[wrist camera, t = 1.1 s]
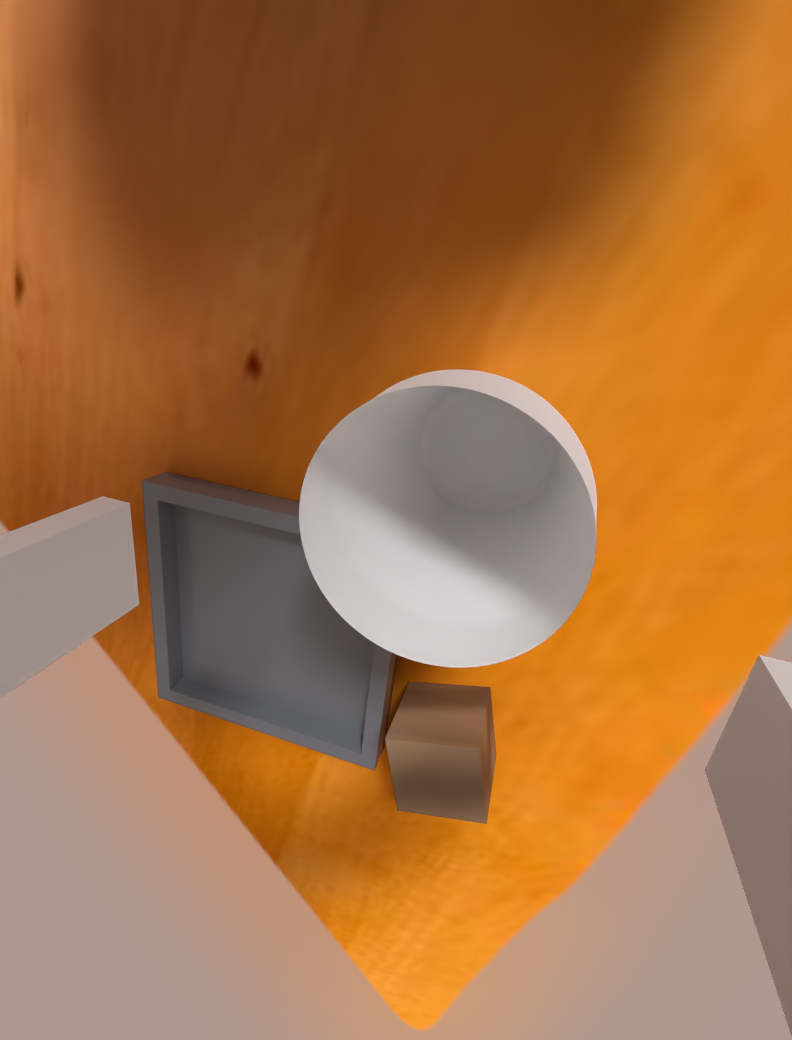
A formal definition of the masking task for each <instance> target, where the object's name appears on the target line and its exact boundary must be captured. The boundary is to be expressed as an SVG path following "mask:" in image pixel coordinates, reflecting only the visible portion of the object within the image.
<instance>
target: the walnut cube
mask: <svg viewBox="0 0 792 1040" xmlns="http://www.w3.org/2000/svg"><path fill="white" fill-rule="evenodd" d="M385 742H386V747H387V753H388V759H389V765H390V770H391V776H392V782H393V788H394V793H395V799H396V805H397V810H398V811H405V812H411V813H418V814H425V815H431V816H438V817H445V818H451V819H458V820H465V821H472V822H478V823H485V824H487V817H488V810H489V803H490V796H491V789H492V782H493V775H494V768H495V761H496V746H495V735H494V724H493V713H492V702H491V691H490V687H480V686H465V685H451V684H436V683H422V682H409V683H408V685H407V687H406V690H405V692H404V695H403V697H402V699H401V702H400V704H399V707H398V709H397V711H396V714H395V716H394V719H393V721H392V723H391V726H390V728H389V731H388V733H387V735H386V738H385Z"/></svg>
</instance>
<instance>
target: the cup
mask: <svg viewBox="0 0 792 1040" xmlns="http://www.w3.org/2000/svg"><path fill="white" fill-rule="evenodd" d="M596 515H597V495H596V486H595V480H594V475H593V472H592V468H591V465H590V462H589V459H588V457H587V455H586V452H585V450H584V448H583V446H582V444H581V442H580V441H579V439H578V437H577V435H576V434H575V432H574V431H573V429H572V428H571V427H570V425H569V424H568V422H567V421H566V420H565V419H564V418H563V417H562V415H561V414H560V413H559V412H558V411H557V410H556V409H555V408H554V407H553V406H552V405H551V404H549V403H548V402H547V401H546V400H545V399H543V398H542V397H541V396H539V395H538V394H537V393H535V392H533V391H532V390H530V389H528V388H527V387H525V386H523V385H521V384H519V383H517V382H515V381H513V380H510V379H507V378H505V377H502V376H499V375H495V374H491V373H487V372H482V371H475V370H458V369H454V370H440V371H434V372H428V373H424V374H420V375H417V376H413V377H411V378H408V379H406V380H403V381H401V382H399V383H397V384H395V385H393V386H391V387H389V388H387V389H386V390H384V391H383V392H382V393H380V394H379V395H377V396H376V397H375V398H373V399H372V400H370V401H368V402H366V403H365V404H363V405H361V406H360V407H358V408H357V409H355V410H354V411H352V412H351V413H349V414H348V415H347V416H346V417H345V418H343V419H342V420H341V421H340V422H339V423H338V424H337V425H336V426H335V427H334V428H333V429H332V430H331V431H330V432H329V433H328V435H327V436H326V437H325V438H324V440H323V441H322V442H321V444H320V445H319V447H318V449H317V450H316V452H315V454H314V456H313V458H312V460H311V462H310V464H309V466H308V469H307V472H306V475H305V478H304V481H303V485H302V490H301V496H300V503H299V526H300V534H301V541H302V545H303V549H304V553H305V556H306V559H307V562H308V565H309V568H310V570H311V572H312V574H313V577H314V579H315V581H316V582H317V584H318V586H319V588H320V590H321V591H322V593H323V594H324V596H325V597H326V598H327V600H328V601H329V603H330V604H331V605H332V606H333V608H334V609H335V610H336V611H337V612H338V613H339V614H340V615H341V617H342V618H343V619H344V620H345V621H346V622H347V623H349V624H350V625H351V626H352V627H353V628H354V629H355V630H357V631H358V632H359V633H360V634H362V635H363V636H364V637H366V638H367V639H369V640H370V641H372V642H373V643H375V644H377V645H378V646H380V647H382V648H384V649H386V650H388V651H390V652H392V653H394V654H397V655H399V656H401V657H404V658H407V659H410V660H413V661H417V662H420V663H424V664H429V665H435V666H442V667H458V668H465V667H478V666H485V665H491V664H495V663H499V662H503V661H506V660H508V659H511V658H514V657H517V656H519V655H521V654H523V653H525V652H527V651H529V650H531V649H533V648H534V647H536V646H538V645H539V644H541V643H542V642H543V641H545V640H546V639H547V638H549V637H550V636H551V635H552V634H553V633H555V632H556V631H557V630H558V629H559V628H560V627H561V626H562V625H563V624H564V622H565V621H566V620H567V619H568V618H569V617H570V615H571V614H572V613H573V611H574V610H575V608H576V607H577V605H578V604H579V602H580V600H581V598H582V596H583V594H584V592H585V590H586V587H587V585H588V583H589V580H590V577H591V573H592V569H593V566H594V560H595V553H596Z"/></svg>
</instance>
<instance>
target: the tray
mask: <svg viewBox="0 0 792 1040" xmlns="http://www.w3.org/2000/svg"><path fill="white" fill-rule="evenodd" d="M142 487H143V500H144V514H145V527H146V540H147V553H148V566H149V579H150V593H151V606H152V619H153V632H154V645H155V658H156V672H157V685H158V697H159V698H162V699H165V700H168V701H171V702H174V703H177V704H180V705H182V706H185V707H188V708H191V709H194V710H197V711H200V712H203V713H206V714H209V715H212V716H215V717H218V718H221V719H224V720H227V721H230V722H233V723H236V724H239V725H242V726H245V727H248V728H251V729H253V730H256V731H259V732H262V733H265V734H268V735H271V736H274V737H277V738H280V739H283V740H286V741H289V742H292V743H295V744H298V745H301V746H304V747H307V748H310V749H313V750H316V751H319V752H321V753H324V754H327V755H330V756H333V757H336V758H339V759H342V760H345V761H348V762H351V763H354V764H357V765H360V766H363V767H366V768H369V769H372V770H375V768H376V766H377V763H378V761H379V759H380V756H381V754H382V751H383V749H384V745H385V738H386V731H387V724H388V717H389V711H390V704H391V697H392V690H393V683H394V676H395V669H396V662H397V654H394V653H392V652H390V651H388V650H386V649H384V648H382V647H380V646H378V645H377V644H375V643H373V642H372V641H370V640H369V639H367V638H366V637H364V636H363V635H362V634H360V633H359V632H358V631H357V630H355V629H354V628H353V627H352V626H351V625H350V624H349V623H347V622H346V621H345V620H344V619H343V618H342V617H341V615H340V614H339V613H338V612H337V611H336V610H335V609H334V608H333V606H332V605H331V604H330V603H329V601H328V600H327V598H326V597H325V596H324V594H323V593H322V591H321V590H320V588H319V586H318V584H317V582H316V581H315V579H314V577H313V574H312V572H311V570H310V568H309V565H308V562H307V559H306V556H305V553H304V549H303V545H302V541H301V534H300V526H299V503H300V502H297V501H293V500H288V499H284V498H279V497H275V496H270V495H266V494H262V493H257V492H253V491H248V490H244V489H239V488H235V487H230V486H226V485H222V484H217V483H213V482H208V481H204V480H199V479H195V478H190V477H186V476H182V475H177V474H173V473H168V472H164V473H161V474H159V475H156V476H153V477H151V478H148V479H145V480H143V481H142Z"/></svg>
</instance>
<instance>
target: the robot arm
mask: <svg viewBox="0 0 792 1040" xmlns="http://www.w3.org/2000/svg"><path fill="white" fill-rule="evenodd" d="M138 605H139V595H138V584H137V574H136V563H135V552H134V542H133V531H132V520H131V510H130V503H128V502H124V501H120V500H116V499H112V498H108V497H104V496H102V497H99V498H96V499H94V500H91V501H89V502H86V503H83V504H81V505H78V506H75V507H73V508H70V509H68V510H65V511H62V512H60V513H57V514H55V515H52V516H49V517H47V518H44V519H41V520H39V521H36V522H34V523H31V524H28V525H26V526H23V527H21V528H18V529H15V530H13V531H10V532H7V533H5V534H2V535H0V698H1V697H3V696H4V695H6V694H7V693H9V692H10V691H12V690H13V689H15V688H16V687H18V686H19V685H20V684H22V683H24V682H25V681H26V680H28V679H29V678H31V677H32V676H34V675H36V674H37V673H39V672H40V671H41V670H43V669H44V668H46V667H47V666H49V665H50V664H52V663H53V662H55V661H56V660H58V659H59V658H61V657H62V656H64V655H65V654H67V653H68V652H70V651H71V650H73V649H74V648H76V647H77V646H79V645H80V644H82V643H83V642H85V641H86V640H87V639H89V638H90V637H92V636H93V635H95V634H96V633H98V632H99V631H101V630H102V629H104V628H105V627H107V626H108V625H110V624H111V623H113V622H114V621H116V620H117V619H119V618H120V617H122V616H123V615H125V614H126V613H128V612H129V611H131V610H132V609H133V608H135V607H136V606H138ZM705 772H706V775H707V778H708V781H709V784H710V787H711V790H712V793H713V796H714V799H715V802H716V805H717V808H718V811H719V814H720V818H721V821H722V824H723V826H724V830H725V833H726V836H727V839H728V842H729V845H730V848H731V851H732V854H733V858H734V860H735V863H736V867H737V870H738V873H739V876H740V879H741V882H742V885H743V888H744V891H745V894H746V897H747V900H748V904H749V906H750V909H751V913H752V916H753V919H754V922H755V925H756V928H757V931H758V934H759V937H760V940H761V943H762V947H763V950H764V953H765V956H766V959H767V962H768V965H769V968H770V971H771V974H772V977H773V980H774V983H775V986H776V989H777V993H778V996H779V999H780V1002H781V1005H782V1008H783V1011H784V1014H785V1017H786V1020H787V1023H788V1026H789V1029H790V1032H791V1035H792V663H790V662H786V661H782V660H777V659H773V658H770V657H765V656H761V655H759V656H758V658H757V661H756V663H755V665H754V667H753V669H752V671H751V673H750V675H749V677H748V680H747V682H746V684H745V686H744V688H743V690H742V692H741V694H740V696H739V699H738V701H737V703H736V705H735V707H734V709H733V711H732V713H731V716H730V718H729V720H728V722H727V724H726V726H725V728H724V730H723V733H722V735H721V737H720V739H719V741H718V743H717V745H716V748H715V749H714V751H713V754H712V756H711V758H710V760H709V762H708V764H707V766H706V768H705Z"/></svg>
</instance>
